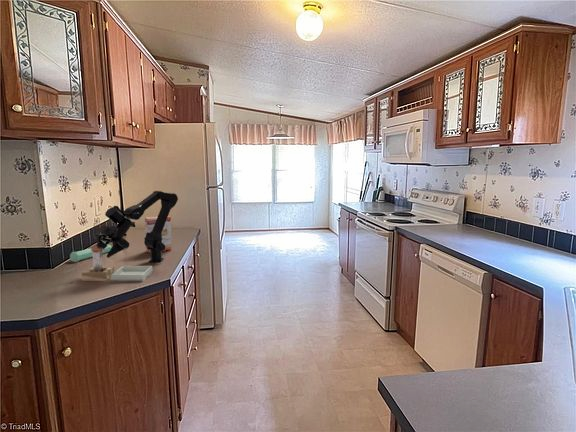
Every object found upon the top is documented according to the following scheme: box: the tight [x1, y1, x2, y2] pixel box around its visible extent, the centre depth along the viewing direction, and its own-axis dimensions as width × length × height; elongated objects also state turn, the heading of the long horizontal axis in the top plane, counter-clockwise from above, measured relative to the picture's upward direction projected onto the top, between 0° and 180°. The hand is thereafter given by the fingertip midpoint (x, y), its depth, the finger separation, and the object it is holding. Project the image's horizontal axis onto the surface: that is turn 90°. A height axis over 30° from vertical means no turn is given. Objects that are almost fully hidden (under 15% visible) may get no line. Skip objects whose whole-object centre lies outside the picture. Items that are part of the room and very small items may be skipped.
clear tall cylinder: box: [91, 246, 104, 272], centre depth 162 cm, size 5×5×14 cm
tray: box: [110, 265, 153, 282], centre depth 165 cm, size 14×14×3 cm
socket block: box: [81, 266, 115, 282], centre depth 163 cm, size 10×10×4 cm
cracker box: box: [144, 215, 172, 254], centre depth 212 cm, size 14×6×21 cm, turn 126°
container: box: [69, 244, 112, 263], centre depth 199 cm, size 6×6×25 cm
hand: (101, 255), depth 163 cm, fingers open, 9 cm apart
